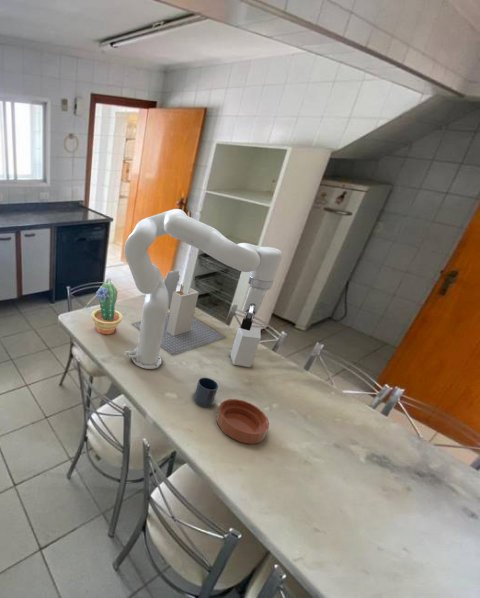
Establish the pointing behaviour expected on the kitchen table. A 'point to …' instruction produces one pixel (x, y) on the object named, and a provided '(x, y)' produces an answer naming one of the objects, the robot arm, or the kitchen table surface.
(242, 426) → the bowl
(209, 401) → the cup
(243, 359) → the milk carton
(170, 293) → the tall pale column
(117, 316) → the potted cactus
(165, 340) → the grey base with block
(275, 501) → the kitchen table surface
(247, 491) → the kitchen table surface
